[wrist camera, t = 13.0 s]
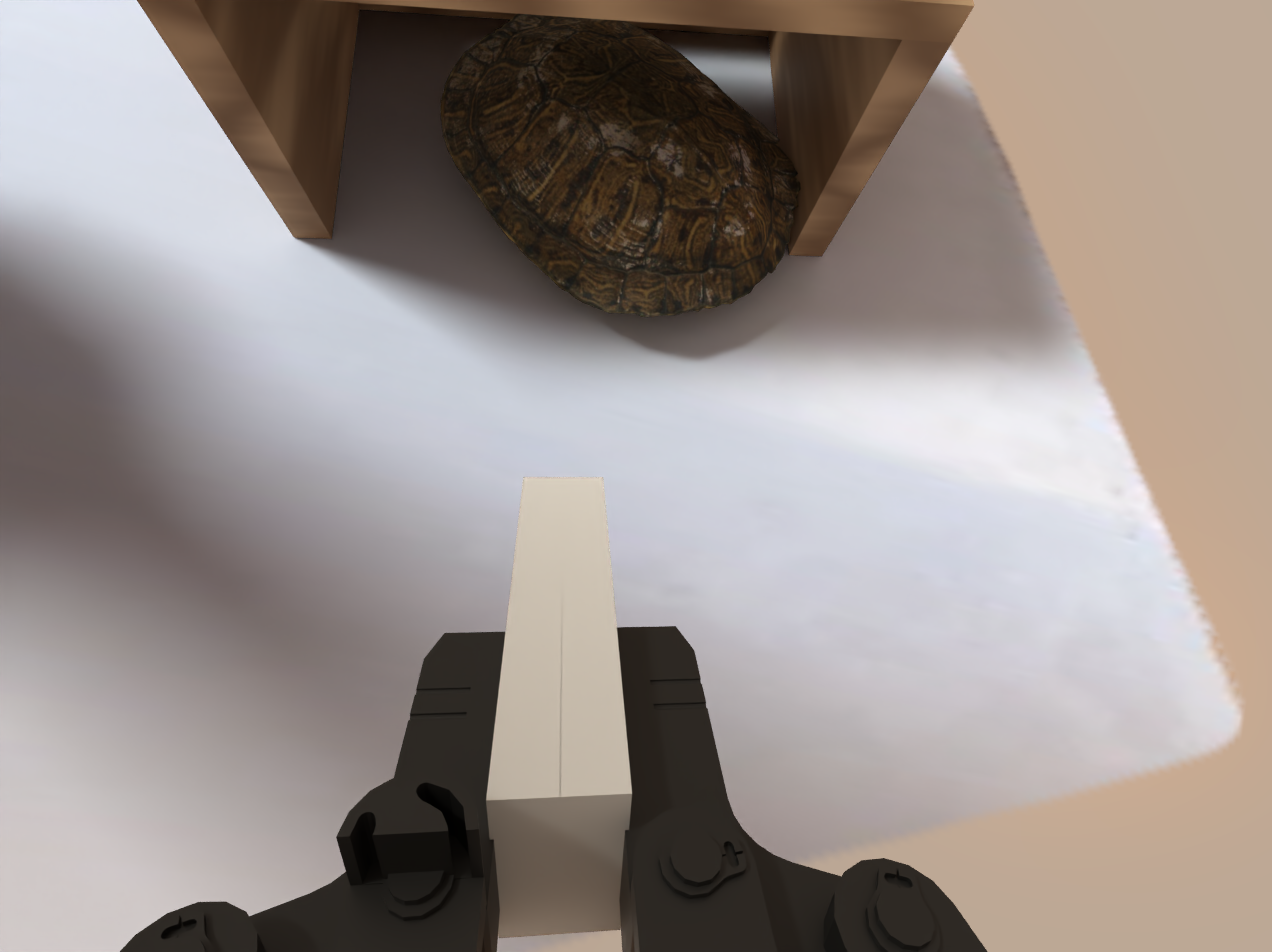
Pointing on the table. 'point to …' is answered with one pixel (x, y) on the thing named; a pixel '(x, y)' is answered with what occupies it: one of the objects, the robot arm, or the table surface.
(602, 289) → the turtle shell
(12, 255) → the table surface
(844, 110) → the walnut shelf
